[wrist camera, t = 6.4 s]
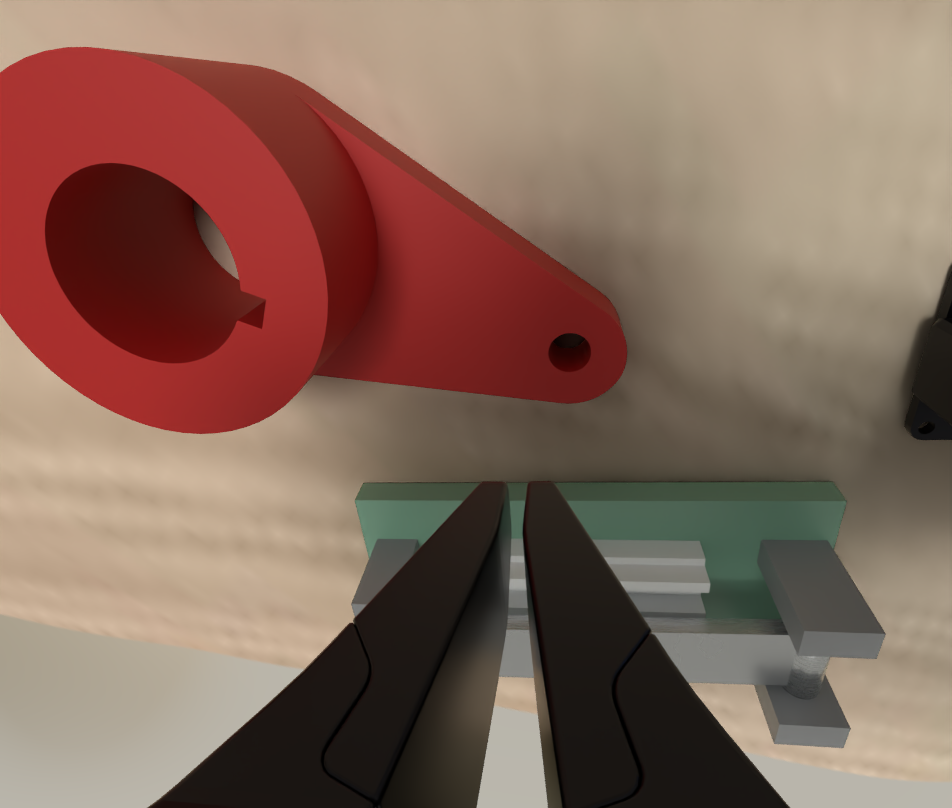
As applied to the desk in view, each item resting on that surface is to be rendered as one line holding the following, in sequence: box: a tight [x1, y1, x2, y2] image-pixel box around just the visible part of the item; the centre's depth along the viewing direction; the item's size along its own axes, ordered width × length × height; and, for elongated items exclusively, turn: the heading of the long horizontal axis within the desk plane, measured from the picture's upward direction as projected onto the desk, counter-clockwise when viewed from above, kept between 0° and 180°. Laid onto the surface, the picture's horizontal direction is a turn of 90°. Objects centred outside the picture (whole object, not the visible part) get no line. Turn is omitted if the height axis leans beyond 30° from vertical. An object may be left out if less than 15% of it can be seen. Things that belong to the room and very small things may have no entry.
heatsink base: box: [351, 482, 885, 748], centre depth 23 cm, size 19×10×6 cm, turn 95°
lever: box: [0, 47, 627, 434], centre depth 17 cm, size 18×9×7 cm, turn 72°
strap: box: [499, 615, 830, 700], centre depth 22 cm, size 18×3×2 cm, turn 95°
